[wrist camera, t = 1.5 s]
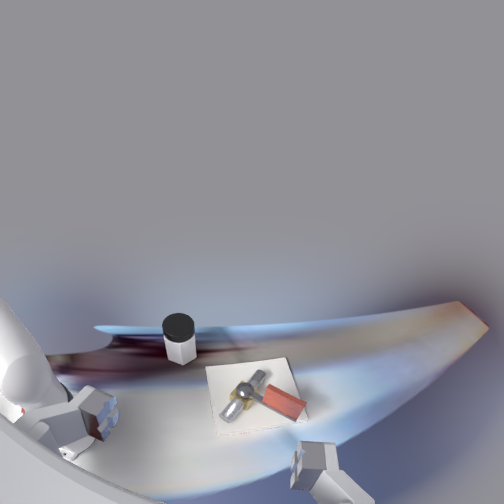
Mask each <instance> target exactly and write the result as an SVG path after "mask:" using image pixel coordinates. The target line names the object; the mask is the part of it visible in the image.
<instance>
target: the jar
mask: <svg viewBox="0 0 504 504" xmlns="http://www.w3.org/2000/svg"><path fill="white" fill-rule="evenodd" d="M194 327H195V326H194V321H193V320H192V318H191V317H190V316H188V315H186V314H182V313H175V314H171V315H169V316H167V317H166V318H165V319H164V321H163V324H162V328H163V333H164V341H165V346H166V351H167V355H168V360H170V361H173V362H176V363H178V364H181V365H185V364H186V363H188V362H190V361H192V360H193V359H195V358H196V357H197V356H196V344H195V333H194V332H195V329H194Z"/></svg>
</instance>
